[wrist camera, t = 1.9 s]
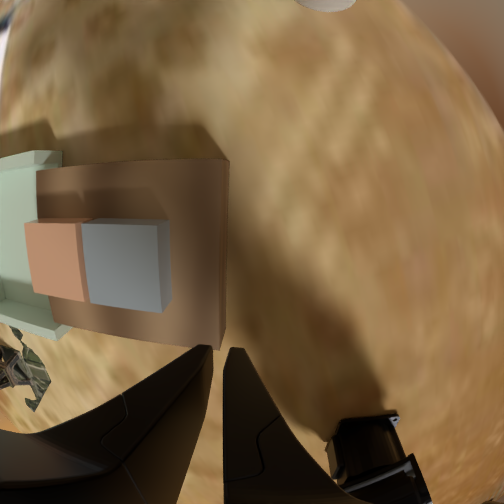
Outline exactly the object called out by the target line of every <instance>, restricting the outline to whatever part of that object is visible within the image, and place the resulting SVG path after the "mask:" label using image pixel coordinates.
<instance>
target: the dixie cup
mask: <svg viewBox="0 0 504 504" xmlns="http://www.w3.org/2000/svg"><path fill="white" fill-rule="evenodd" d="M295 1H296V2H298V3H299V4H301V5H303V6H305V7H307V8H310V9H313V10H317V11H323V12H337V11H342V10H345V9H347V8H349V7H351V6H352V5H353V4H354V3H355V2H356V0H295Z"/></svg>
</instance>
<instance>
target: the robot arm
mask: <svg viewBox="0 0 504 504" xmlns="http://www.w3.org/2000/svg"><path fill="white" fill-rule="evenodd" d="M212 377H213V348H212V346H211V345H204V344H198V345H196V346H195V347H193V348H192V349H190V350H189V351H187V352H186V353H184V354H183V355H181V356H180V357H178V358H177V359H175V360H173V361H172V362H170V363H169V364H167V365H166V366H164V367H163V368H161V369H159V370H158V371H156V372H155V373H153V374H152V375H150V376H148V377H147V378H145V379H144V380H142V381H141V382H139V383H137V384H136V385H134V386H132V387H131V388H129V389H128V390H126V391H124V392H123V393H122V395H121V394H119V395H118V396H116V397H114V398H113V399H111V400H109V401H107V402H106V403H104V404H102V405H100V406H98V407H97V408H95V409H93V410H90V411H88V412H86V413H84V414H82V415H80V416H78V417H75V418H73V419H71V420H68V421H66V422H64V423H61V424H59V425H56V426H54V427H51V428H49V429H47V430H44V431H41V432H37V433H30V434H22V433H15V432H11V431H6V430H1V429H0V504H176V503H177V500H178V497H179V494H180V491H181V488H182V485H183V482H184V479H185V476H186V473H187V470H188V467H189V464H190V461H191V458H192V455H193V452H194V449H195V446H196V443H197V440H198V437H199V434H200V431H201V428H202V425H203V422H204V418H205V415H206V410H207V405H208V399H209V393H210V388H211V382H212ZM399 419H400V417H399V415H398V414H392V415H384V416H376V417H366V418H355V419H344V420H341V421H340V422H339V425H338V427H337V430H336V433H335V435H334V436H333V437H332V438H331V441H330V443H329V446H328V448H327V455H328V461H329V467H330V474H331V477H330V476H329V475H328V474H327V473H326V472H325V471H324V470H323V469H322V468H321V467H320V465H319V464H318V463H317V462H316V461H315V460H314V459H313V458H312V457H311V455H310V454H309V453H308V452H307V451H306V450H305V448H304V447H303V446H302V445H301V443H300V442H299V441H298V440H297V438H296V437H295V435H294V434H293V432H292V431H291V429H290V428H289V426H288V425H287V423H286V421H285V420H284V418H283V417H282V415H281V413H280V411H279V410H278V408H277V406H276V404H275V403H274V401H273V399H272V397H271V396H270V394H269V392H268V390H267V389H266V387H265V385H264V383H263V382H262V380H261V378H260V376H259V374H258V373H257V371H256V369H255V367H254V365H253V364H252V362H251V360H250V358H249V356H248V354H247V353H246V351H245V349H244V348H238V347H231V348H230V349H229V353H228V356H227V359H226V362H225V366H224V370H223V483H224V504H433V503H432V500H431V497H430V494H429V491H428V489H427V486H426V483H425V481H424V478H423V476H422V473H421V471H420V468H419V466H418V463H417V461H416V459H415V456H414V454H413V453H412V454H410V455H408V457H406V455H405V453H404V450H403V448H402V445H401V442H400V440H399V437H398V435H397V432H396V430H395V427H396V425H397V423H398V421H399ZM331 478H332V479H333V480H335V479H337V484H338V485H337V484H336V483H335V482H334V481H333V480H332V479H331ZM482 504H504V503H500V502H495V501H488V502H485V503H482Z"/></svg>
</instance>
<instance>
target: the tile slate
mask: <svg viewBox="0 0 504 504" xmlns="http://www.w3.org/2000/svg"><path fill="white" fill-rule="evenodd" d="M81 228H82V241H83V252H84V261H85V269H86V277H87V284H88V291H89V297H90V303H93V304H99V305H105V306H112V307H119V308H125V309H133V310H140V311H148V312H155V313H163V311H164V310H165V309H166V307H167V306H168V304H169V303H170V302H171V300H172V284H171V263H170V220H163V219H118V218H98V219H94V220H91V221H88V222H85V223H82V224H81Z"/></svg>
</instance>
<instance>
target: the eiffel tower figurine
mask: <svg viewBox="0 0 504 504" xmlns="http://www.w3.org/2000/svg"><path fill="white" fill-rule="evenodd" d="M10 328H11V329H12V332H13V334H14V336H15V337H16V338H18V339H19V340H20V342H21V343H22V345H23V351H22V353H23V359H22V356H21V354H20V352H19V351H18V350H14V349H11V348H8V347H5V346H2V345H0V389H3V388H6V387H9V386H10V387H14V386H15V385H30V386H31V388H32V390H33V392H34V394H35V397H36V399H37V400H30V399H27V398H25V402H26V405H27V406H28V407H29V408H30V409H31V410H32V411H33V412H35V410H36V408H37V406H38V405H39V403H40V401H41V399H42V397H43V395H44V393H45V391H46V390H47V388H48V386H49V384H50V383H51V380H50V377H49V375H48V373H47V371H46V369H45V365H44V364H43V363H42V361H41V360H40V358H39V357H38V356H37V355H36V354H35V353H34V352H33V350H32V349H30V348H28V347H27V346H26V344H24V343H23V342H22V341H21V338H22V336H23V334H22V333H21V332H20V331H19V330H18V329H17V328H15V327H12V326H10ZM2 356H3V358H4V361H5V362H2Z"/></svg>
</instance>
